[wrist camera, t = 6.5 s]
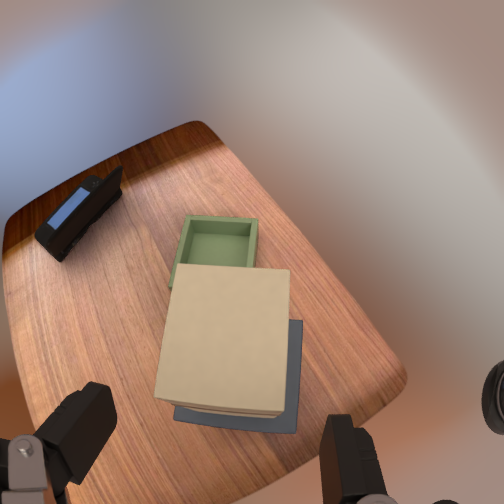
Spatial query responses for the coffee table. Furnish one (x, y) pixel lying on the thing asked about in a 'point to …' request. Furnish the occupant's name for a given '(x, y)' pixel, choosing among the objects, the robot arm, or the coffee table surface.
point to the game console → (78, 213)
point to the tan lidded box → (226, 341)
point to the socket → (217, 242)
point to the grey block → (271, 425)
